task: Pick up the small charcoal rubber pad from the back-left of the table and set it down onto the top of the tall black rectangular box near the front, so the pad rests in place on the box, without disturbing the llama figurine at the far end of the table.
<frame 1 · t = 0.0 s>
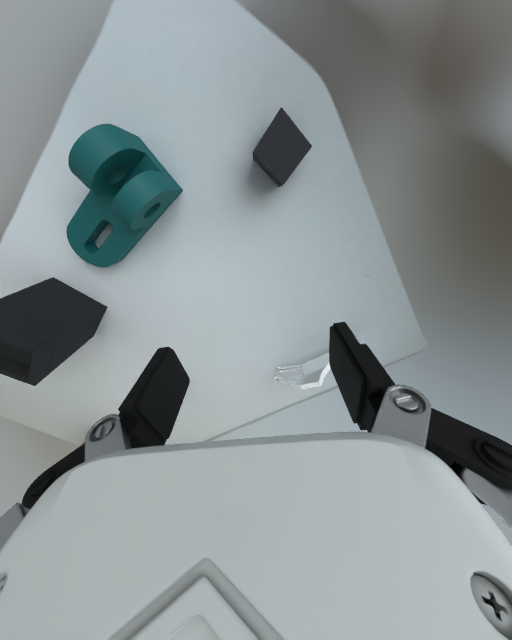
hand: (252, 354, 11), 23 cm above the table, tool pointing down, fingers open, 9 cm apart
llama figurine: (313, 353, 42), on the table
black rectangular box: (75, 309, 36), on the table
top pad: (278, 156, 24), on the table
bracket: (124, 214, 28), on the table
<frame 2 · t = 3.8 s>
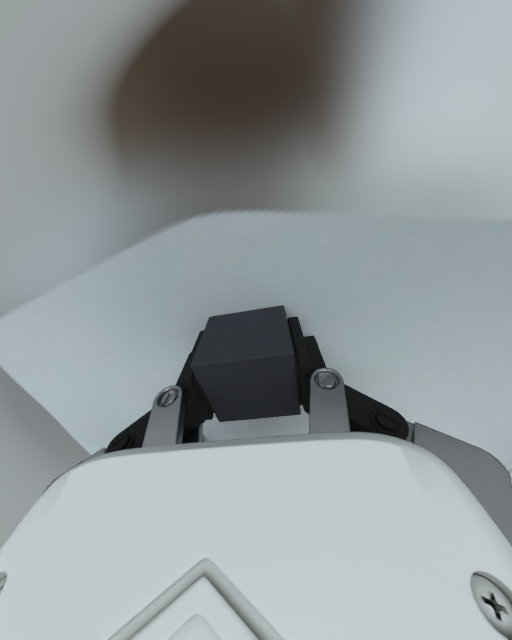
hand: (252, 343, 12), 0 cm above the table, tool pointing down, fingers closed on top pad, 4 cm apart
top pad: (252, 340, 13), on the table, touching gripper
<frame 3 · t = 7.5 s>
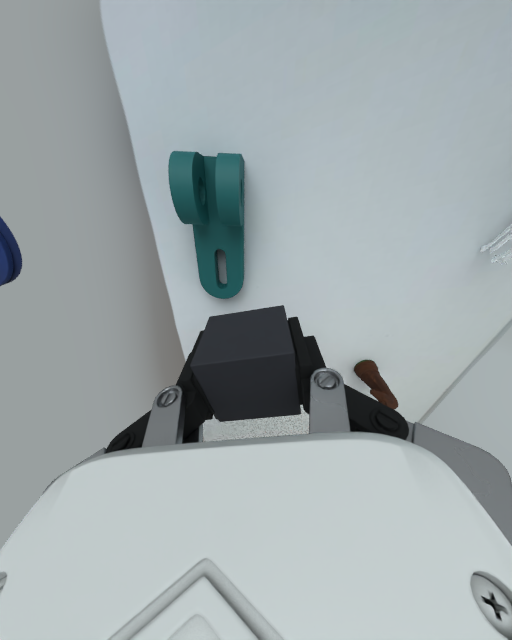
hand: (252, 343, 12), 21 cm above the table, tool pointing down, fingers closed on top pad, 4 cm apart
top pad: (253, 339, 13), point 21 cm above the table, touching gripper
chess piece: (365, 366, 43), on the table
bracket: (221, 237, 29), on the table
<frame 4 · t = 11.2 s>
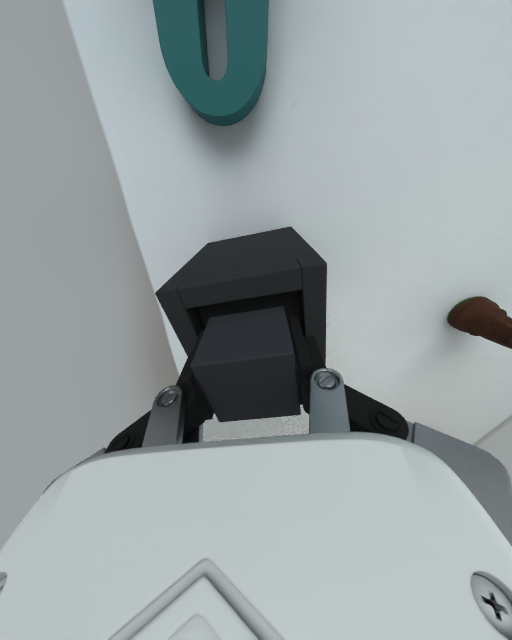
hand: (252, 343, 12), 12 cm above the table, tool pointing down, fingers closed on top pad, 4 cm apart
black rectangular box: (256, 275, 23), on the table
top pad: (253, 340, 13), point 12 cm above the table, touching gripper
chess piece: (467, 311, 25), on the table
when the fingers open (13 cm above the table, at t = 17.9 s): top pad drops 2 cm, resting on black rectangular box.
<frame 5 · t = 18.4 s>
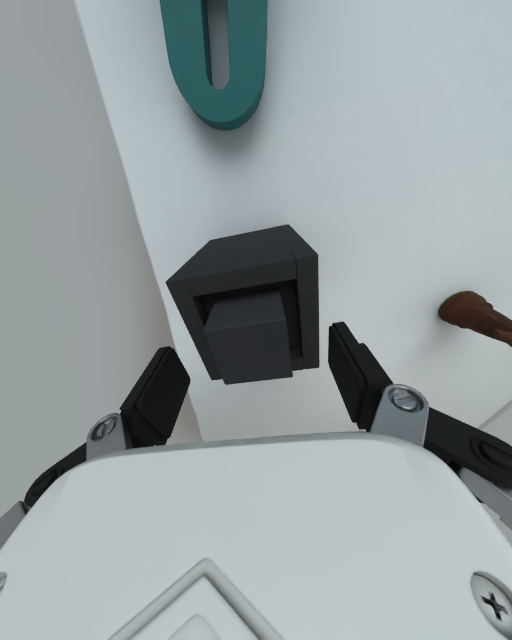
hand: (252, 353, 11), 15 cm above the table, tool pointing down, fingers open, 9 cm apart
black rectangular box: (255, 271, 24), on the table
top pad: (253, 319, 15), point 11 cm above the table, touching black rectangular box
chess piece: (457, 305, 26), on the table
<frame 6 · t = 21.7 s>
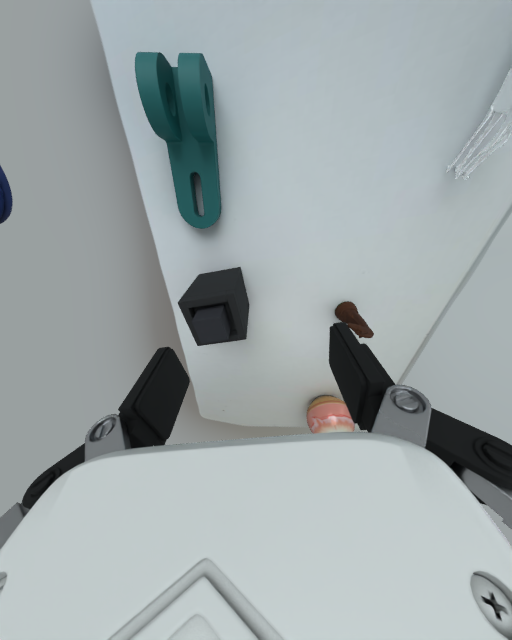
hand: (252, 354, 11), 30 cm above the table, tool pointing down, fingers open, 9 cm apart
vase: (324, 400, 64), on the table
llama figurine: (490, 91, 26), on the table
black rectangular box: (225, 290, 42), on the table
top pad: (215, 317, 33), point 11 cm above the table, touching black rectangular box
chess piece: (345, 309, 45), on the table
bracket: (197, 164, 30), on the table
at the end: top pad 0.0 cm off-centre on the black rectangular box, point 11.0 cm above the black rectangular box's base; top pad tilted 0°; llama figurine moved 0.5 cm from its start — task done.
